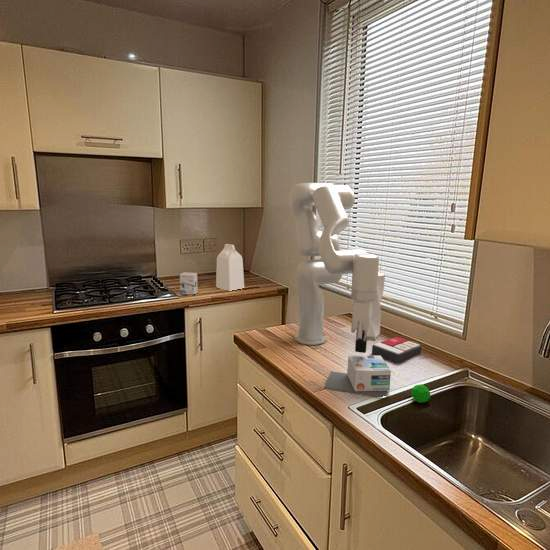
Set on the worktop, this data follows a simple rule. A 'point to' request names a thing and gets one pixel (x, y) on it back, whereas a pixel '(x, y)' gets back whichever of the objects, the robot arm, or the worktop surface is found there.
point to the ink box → (188, 283)
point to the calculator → (396, 350)
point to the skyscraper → (376, 310)
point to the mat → (347, 385)
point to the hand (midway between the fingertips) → (360, 351)
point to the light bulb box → (368, 373)
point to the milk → (229, 269)
